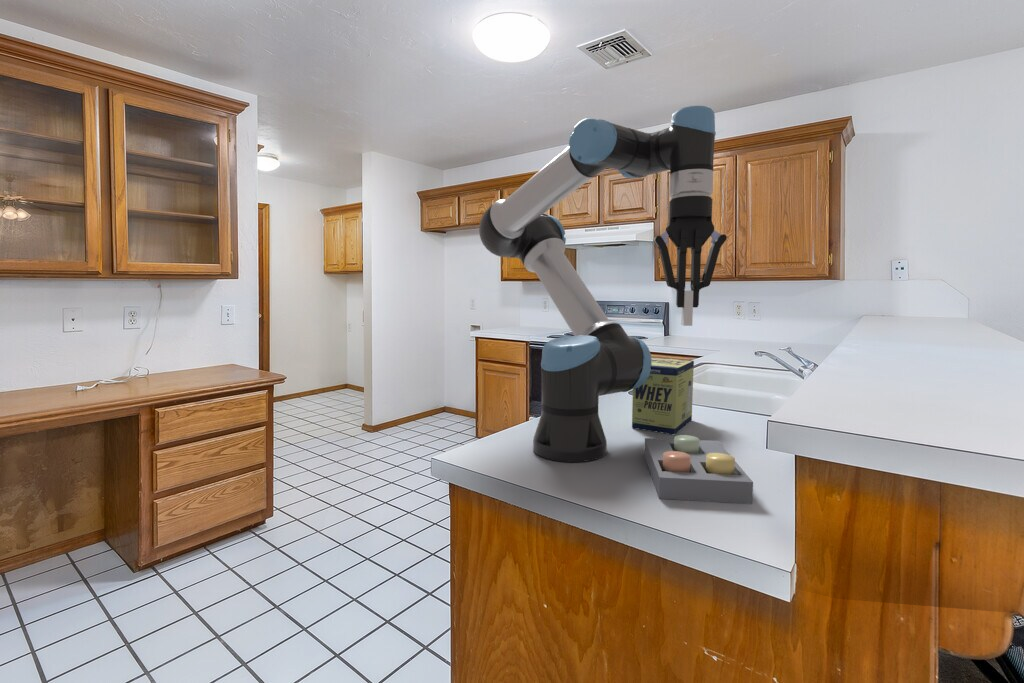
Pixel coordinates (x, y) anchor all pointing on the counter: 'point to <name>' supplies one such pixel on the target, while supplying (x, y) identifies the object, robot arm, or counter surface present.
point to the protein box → (664, 397)
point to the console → (696, 475)
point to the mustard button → (720, 463)
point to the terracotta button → (676, 461)
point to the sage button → (686, 444)
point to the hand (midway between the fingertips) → (686, 325)
